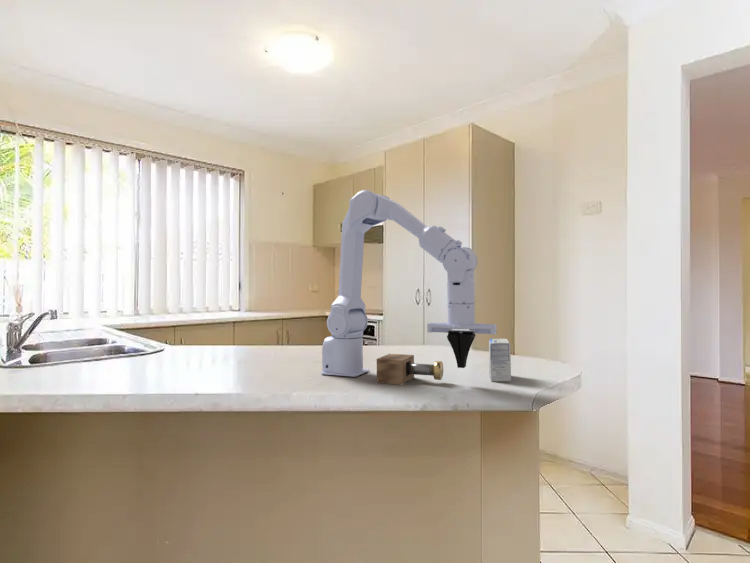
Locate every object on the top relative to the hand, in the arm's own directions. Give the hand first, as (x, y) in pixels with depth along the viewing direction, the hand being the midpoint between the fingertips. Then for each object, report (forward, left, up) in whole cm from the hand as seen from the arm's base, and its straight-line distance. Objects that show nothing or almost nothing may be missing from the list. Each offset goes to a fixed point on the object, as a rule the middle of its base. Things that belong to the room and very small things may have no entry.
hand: (461, 367), depth 101 cm
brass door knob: (-9, 0, -3) cm, 10 cm away
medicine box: (+6, +10, -4) cm, 13 cm away
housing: (-15, 0, -4) cm, 16 cm away
